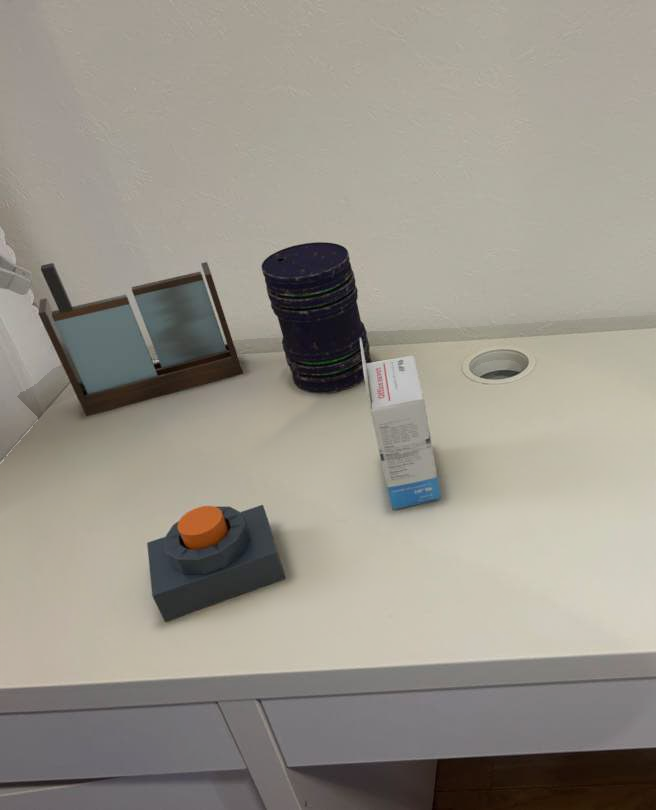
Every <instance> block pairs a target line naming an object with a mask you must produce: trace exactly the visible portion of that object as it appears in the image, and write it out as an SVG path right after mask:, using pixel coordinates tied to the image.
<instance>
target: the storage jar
mask: <svg viewBox="0 0 656 810" xmlns="http://www.w3.org/2000/svg"><path fill="white" fill-rule="evenodd" d="M260 266H261V271H262V275H263V277H264V282H265V287H266V292H267V296H268V299H269V301H270V308H271V309H272V312H273V314H274V315H275V316H276V318H277V320H278V325H279V327H280V331H281V335H282V339H281V343H282V350H283V351H284V357H285V360H286V363H287V366H288V367H289V370H290V373H291V376H292V380H293V384H294V386H296V387H297V388H298V389H299V390H301V391H303V392H306V393H311V394H320V395H321V394H331V393H337V392H342V391H344V390H347V389H350V388H353V387H355V386H356V385H359V384H360V383H362V382H363V381H365V379H364V372H363V364H362V356H361V347H360V337H361V339H362V344H363V350H364V355H365V361H366V364H367V363H372V362H373V361H372V357H371V353H370V343H369V338H368V335H367V334H368V333H367V329H366V327H365V324H364V323H363V321H362V320H361V319H362V318H361V314H360V311H359V310H360V309H359V306H358V296H359V294H358V288H357V285H356V277H355V273H354V271H353V268H352V263H351V261H350V254H349V251H348V249H347V248H346V247H345V246H343V245H341V244H339V243H334V242H326V241H325V242H324V241H321V242H319V241H318V242H317V241H316V242H306V243H301V244H295V245H292V246H288V247H285V248H283V249H280V250H277V251H275V252H273V253H271V254H270V255H269V256H267V257H266V258H265V259H263V261H262V263H261V265H260Z"/></svg>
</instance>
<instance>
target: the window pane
mask: <svg viewBox="0 0 656 810" xmlns="http://www.w3.org/2000/svg"><path fill="white" fill-rule="evenodd" d="M40 271H41V274H42V276H43V278H44V280H45V282H46V285H47V287H48V289H49V291H50V293H51V296H52V298H53V300H54V302H55V305H56V307H57V309H56V310H52V314H51V315H52V317H53V320H54V322H55V324H56V326H57V328H58V330H59V332H60V335H61V337H62V339H63V341H64V343H65V346H66V348H67V350H68V352H69V354H70V356H71V359H72V361H73V363H74V365H75V367H76V370H77V372H78V374H79V376H80V378H81V380H82V383H83V385H84V387H85V389H86V391H87V394H91V393H95V392H99V391H103V390H106V389H110V388H114V387H118V386H122V385H125V384H129V383H133V382H137V381H140V380H144V379H148V378H152V377H155V376H158V374H157V371H156V369H155V366H154V364H153V363H154V362H153V359H152V356H151V354H150V351H149V348H148V346H147V344H146V341H145V339H144V336H143V334H142V331H141V328H140V326H139V323H138V320H137V318H136V315H135V313H134V310H133V308H132V306H131V303H130V299H129V298H128V295H127V294H122V295H118V296H113V297H109V298H105V299H100V300H96V301H91V302H87V303H83V304H77V305H73V304H72V303H71V300H70V298H69V296H68V294H67V291H66V288H65V286H64V285H63V282H62V280H61V278H60V276H59V274H58V271H57V268H56V266H55V264H54V263H53V262H51V263H47V264H42V265H41V266H40Z"/></svg>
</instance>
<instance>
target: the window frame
mask: <svg viewBox="0 0 656 810" xmlns="http://www.w3.org/2000/svg"><path fill="white" fill-rule="evenodd" d="M200 265H201V268H202V271H195V272H192V273H188V274H182V275H179V276H174V277H170V278H169V277H168V278H166V279H161V280H157V281H152V282H148V283H144V284H139V285H135V286H131V292H132V294H133V297H134V300H135V302H136V306H137V309H138V310H139V312H140V315H141V319H142V321H143V323H144V325H145V329H146V330H147V331H146V332H147V333H148V336H149V338H150V341H151V343H152V346H153V349H154V352H155V354H156V356H157V359H158V361H156V362H153V364H154V366H155V369H156V371H157V374H158V376H155V377H152V378H148V379H144V380H140V381H137V382H133V383H129V384H125V385H122V386H118V387H114V388H110V389H106V390H103V391H99V392H95V393H91V394H87V391H86V389H85V387H84V385H83V383H82V380H81V378H80V376H79V374H78V372H77V370H76V367H75V365H74V363H73V361H72V359H71V356H70V354H69V352H68V350H67V348H66V346H65V343H64V341H63V339H62V337H61V335H60V332H59V330H58V328H57V326H56V324H55V322H54V320H53V317H52V315H51V314H52V311H53V309H52V306H51V305H50V302H49V300H48V298H41V299H39V305H38V313H37V314H38V316H39V319H40V321H41V323H42V325H43V328H44V329H45V331H46V333H47V335H48V338H49V340H50V342H51V344H52V346H53V348H54V350H55V353H56V355H57V357H58V359H59V361H60V363H61V366H62V368H63V369H64V372H65V374H66V376H67V378H68V381H69V382H70V385H71V387H72V389H73V391H74V393H75V395H76V398H77V400H78V402H79V404H80V405H81V408H82V411H83V412H84V415H85V416H86V417H87V416H91V415H96V414H100V413H103V412H106V411H110V410H114V409H117V408H120V407H124V406H128V405H132V404H136V403H140V402H143V401H147V400H151V399H153V398H157V397H162V396H165V395H168V394H172V393H176V392H179V391H183V390H186V389H190V388H193V387H197V386H198V387H199V386H201V385H204V384H208V383H212V382H216V381H219V380H220V381H221V380H223V379H227V378H230V377H234V376H238V375H241V374H243V373H244V372H243V368H242V365H241V363H240V359H239V356H238V353H237V349H236V347H235V344H234V341H233V337H232V335H231V332H230V331H231V330H230V328H229V324H228V322H227V320H226V316H225V313H224V310H223V307H222V306H223V305H222V303H221V301H220V297H219V294H218V291H217V288H216V284H215V282H214V279H213V275H212V272H211V269H210V267H209V263H208V262H207V261H205V262H201V263H200ZM202 272H203V273H202ZM203 274H204V277H205V280H204V277H203ZM205 281H206V282H207V283H205ZM206 284H207V286H206ZM207 287H208V288H207ZM208 289H209V292H210V294H209V293H208ZM209 295H210V296H211V298H210V296H209ZM211 299H212V301H213V303H212V301H211ZM213 305H214V307H215V310H214V307H213ZM215 311H216V313H215ZM216 314H217V316H216ZM217 317H218V320H219V322H218V320H217ZM219 323H220V326H219ZM220 327H221V329H222V332H221V329H220ZM222 333H223V335H222ZM223 336H224V338H225V340H224V338H223ZM225 342H226V344H225Z"/></svg>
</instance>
